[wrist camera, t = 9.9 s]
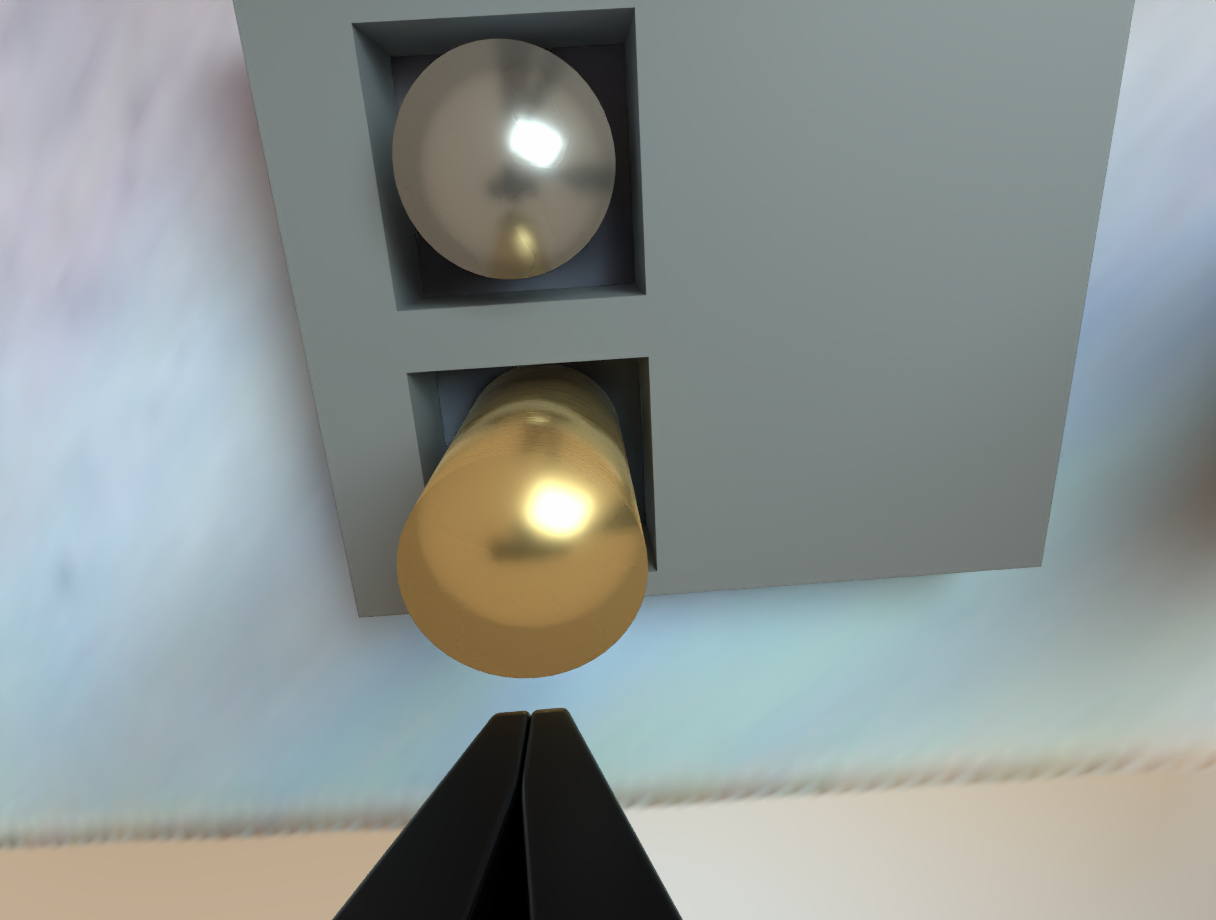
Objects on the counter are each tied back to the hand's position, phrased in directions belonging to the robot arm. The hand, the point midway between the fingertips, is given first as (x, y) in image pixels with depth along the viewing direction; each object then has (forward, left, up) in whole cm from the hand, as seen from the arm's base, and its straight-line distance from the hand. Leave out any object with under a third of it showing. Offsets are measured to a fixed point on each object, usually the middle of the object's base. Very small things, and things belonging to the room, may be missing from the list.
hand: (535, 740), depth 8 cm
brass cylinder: (0, 0, -12) cm, 12 cm away
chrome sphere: (0, -7, -12) cm, 14 cm away
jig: (-4, -3, -12) cm, 13 cm away
